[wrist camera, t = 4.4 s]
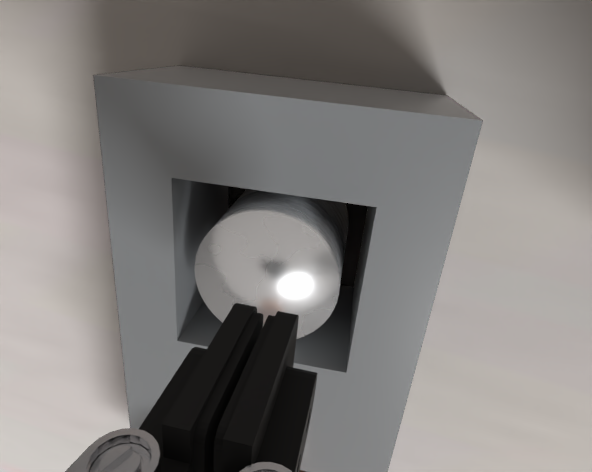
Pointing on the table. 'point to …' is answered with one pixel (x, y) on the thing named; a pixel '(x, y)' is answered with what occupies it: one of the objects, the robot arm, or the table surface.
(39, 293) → the table surface
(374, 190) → the plunger housing
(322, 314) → the metal plunger
